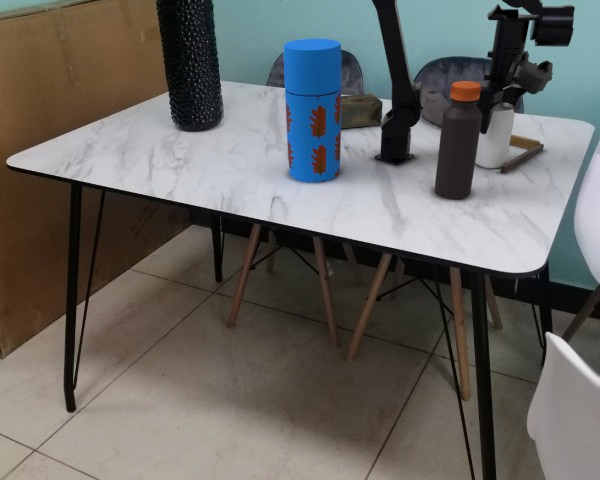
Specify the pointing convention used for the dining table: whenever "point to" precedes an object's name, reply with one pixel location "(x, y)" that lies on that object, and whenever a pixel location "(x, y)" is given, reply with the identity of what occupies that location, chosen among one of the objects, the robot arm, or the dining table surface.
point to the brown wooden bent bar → (526, 143)
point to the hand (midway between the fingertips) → (495, 128)
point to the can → (496, 138)
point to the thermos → (313, 108)
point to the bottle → (459, 141)
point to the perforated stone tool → (434, 106)
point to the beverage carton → (360, 110)
